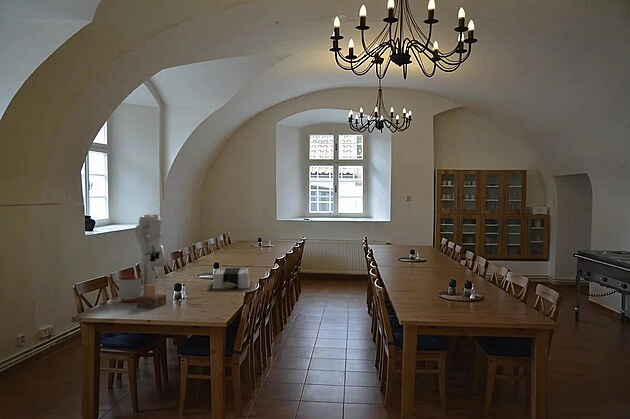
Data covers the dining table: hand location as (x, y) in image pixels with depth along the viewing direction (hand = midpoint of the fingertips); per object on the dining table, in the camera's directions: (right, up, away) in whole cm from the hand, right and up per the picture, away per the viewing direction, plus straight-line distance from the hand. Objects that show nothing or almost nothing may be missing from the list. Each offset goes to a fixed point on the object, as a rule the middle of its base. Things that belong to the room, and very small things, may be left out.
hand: (154, 260), depth 350 cm
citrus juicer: (-20, -30, +10) cm, 38 cm away
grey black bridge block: (+42, -29, +70) cm, 87 cm away
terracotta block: (-1, -24, -5) cm, 25 cm away
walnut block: (-1, -31, -5) cm, 32 cm away
